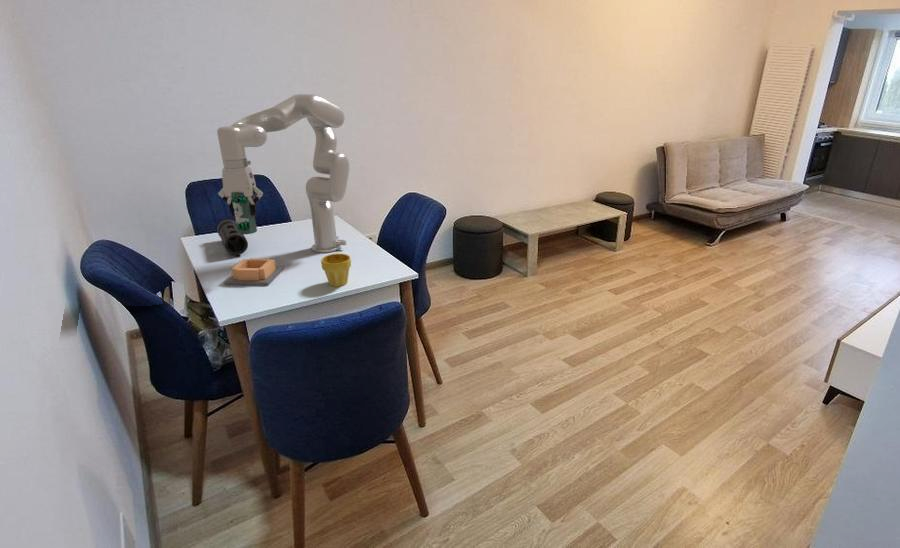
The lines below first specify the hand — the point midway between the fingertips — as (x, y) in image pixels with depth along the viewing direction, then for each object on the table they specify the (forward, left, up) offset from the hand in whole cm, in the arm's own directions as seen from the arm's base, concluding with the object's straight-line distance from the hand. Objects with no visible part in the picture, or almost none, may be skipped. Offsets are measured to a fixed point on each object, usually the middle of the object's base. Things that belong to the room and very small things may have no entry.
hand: (244, 214), depth 164 cm
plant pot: (-33, +5, -25) cm, 42 cm away
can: (0, 0, -7) cm, 7 cm away
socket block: (0, 0, -25) cm, 25 cm away
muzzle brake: (+24, -33, -25) cm, 48 cm away
